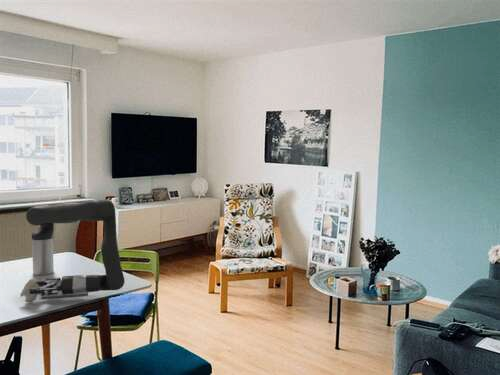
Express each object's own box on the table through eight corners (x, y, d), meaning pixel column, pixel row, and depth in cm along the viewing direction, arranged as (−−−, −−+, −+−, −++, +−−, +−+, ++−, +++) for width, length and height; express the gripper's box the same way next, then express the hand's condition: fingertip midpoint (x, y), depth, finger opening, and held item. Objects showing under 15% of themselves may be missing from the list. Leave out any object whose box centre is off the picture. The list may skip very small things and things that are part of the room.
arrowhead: (20, 305, 180) (19, 280, 179) (20, 303, 182) (19, 279, 181) (42, 301, 184) (41, 278, 183) (42, 299, 186) (41, 276, 185)
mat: (47, 282, 207) (47, 280, 207) (89, 279, 213) (89, 277, 213) (41, 298, 187) (41, 296, 187) (87, 295, 193) (87, 292, 193)
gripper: (75, 270, 194) (34, 273, 189) (72, 281, 180) (28, 284, 175) (75, 287, 195) (34, 290, 190) (73, 299, 181) (28, 303, 176)
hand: (31, 287), depth 183 cm, fingers open, 8 cm apart
